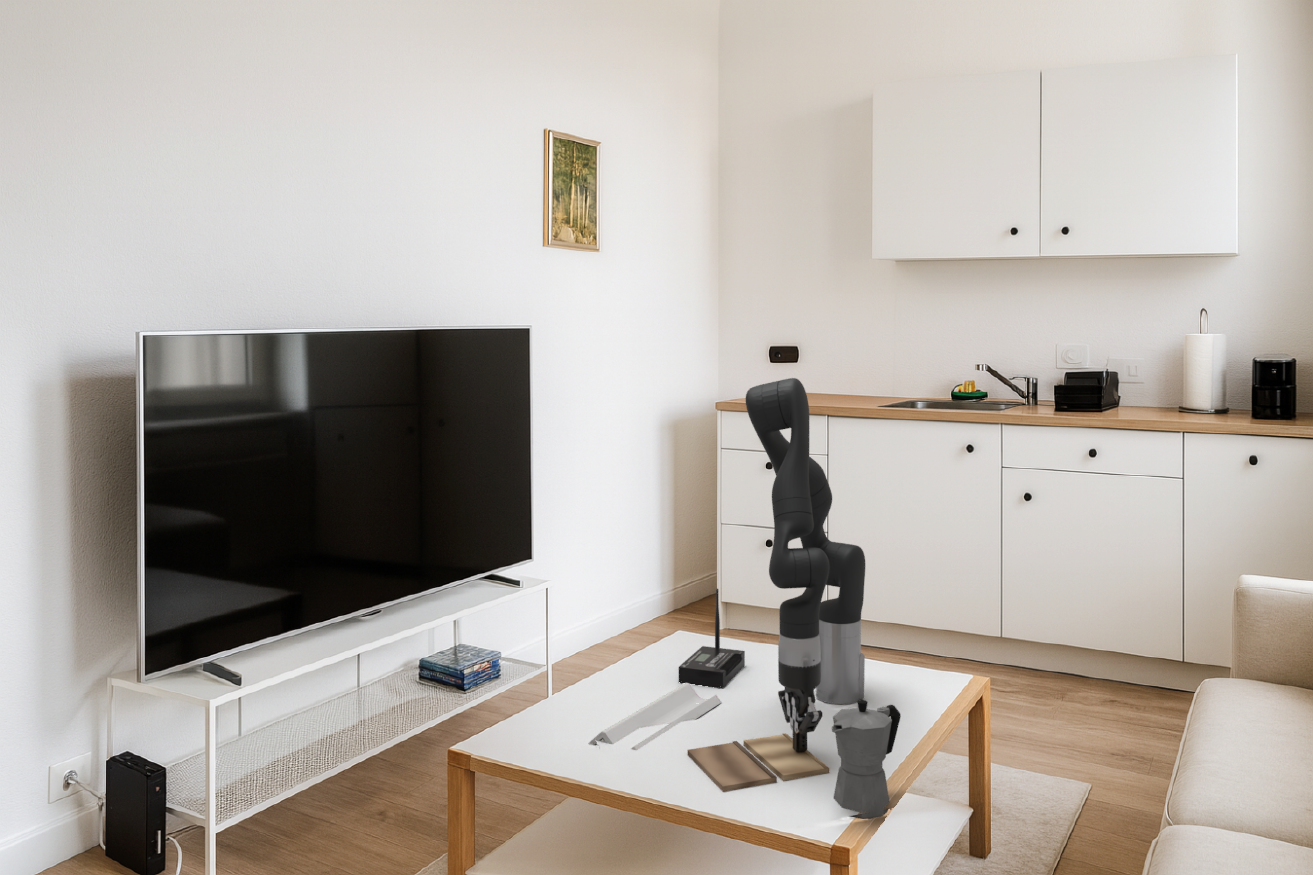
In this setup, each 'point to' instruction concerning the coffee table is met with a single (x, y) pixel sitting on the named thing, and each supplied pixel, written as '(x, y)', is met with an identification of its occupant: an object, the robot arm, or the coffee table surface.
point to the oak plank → (785, 757)
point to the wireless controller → (712, 662)
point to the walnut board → (731, 766)
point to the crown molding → (660, 715)
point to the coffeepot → (864, 757)
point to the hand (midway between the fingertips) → (799, 750)
